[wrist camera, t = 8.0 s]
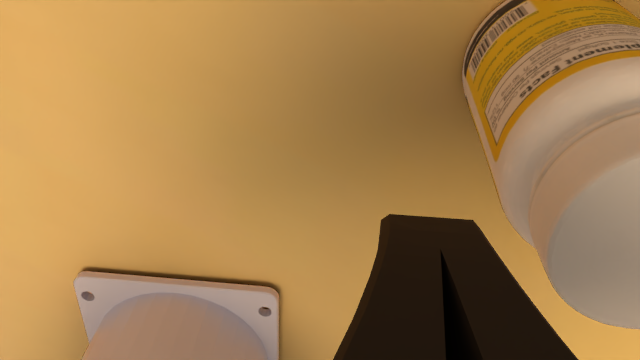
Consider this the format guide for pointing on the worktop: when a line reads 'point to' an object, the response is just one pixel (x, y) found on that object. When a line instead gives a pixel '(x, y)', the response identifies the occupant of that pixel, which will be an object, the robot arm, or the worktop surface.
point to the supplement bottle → (566, 142)
